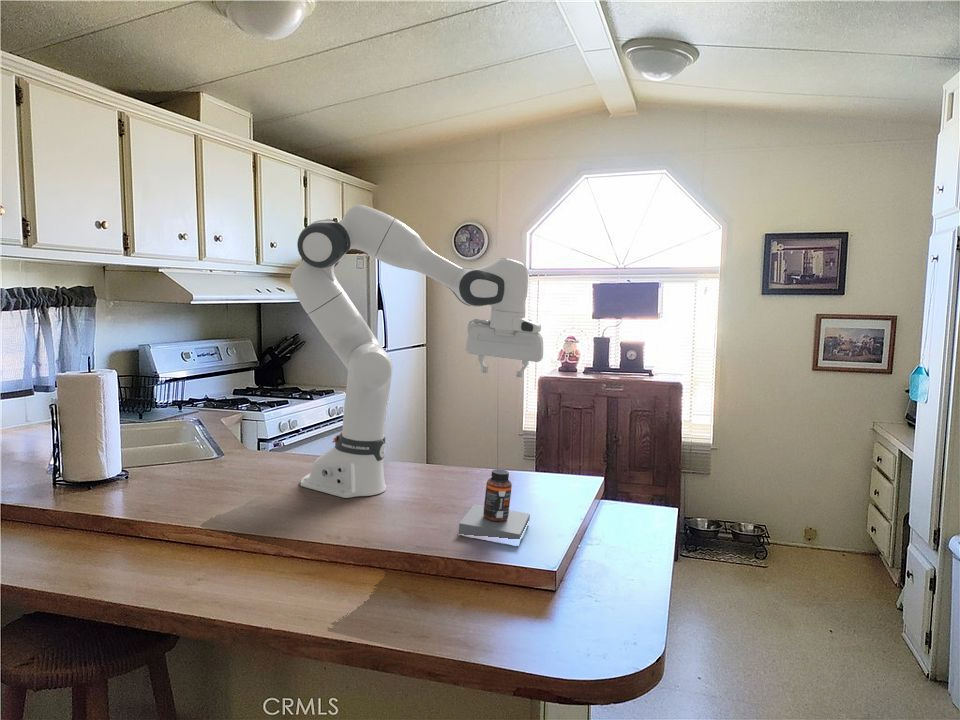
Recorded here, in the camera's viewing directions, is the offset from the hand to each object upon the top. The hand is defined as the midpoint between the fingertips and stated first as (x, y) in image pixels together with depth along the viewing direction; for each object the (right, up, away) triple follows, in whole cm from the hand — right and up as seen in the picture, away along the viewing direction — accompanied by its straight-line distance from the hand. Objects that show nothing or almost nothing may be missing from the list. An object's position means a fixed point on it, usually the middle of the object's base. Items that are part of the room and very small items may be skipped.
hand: (501, 374), depth 167 cm
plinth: (-2, -36, -17) cm, 40 cm away
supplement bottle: (-2, -34, -17) cm, 37 cm away
